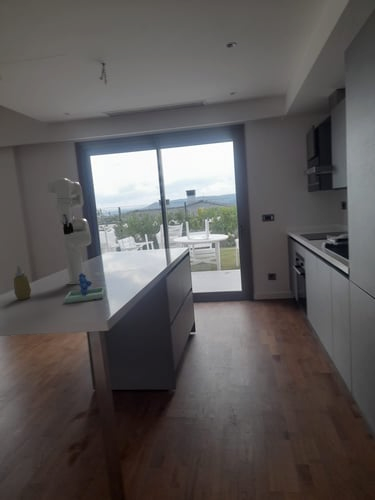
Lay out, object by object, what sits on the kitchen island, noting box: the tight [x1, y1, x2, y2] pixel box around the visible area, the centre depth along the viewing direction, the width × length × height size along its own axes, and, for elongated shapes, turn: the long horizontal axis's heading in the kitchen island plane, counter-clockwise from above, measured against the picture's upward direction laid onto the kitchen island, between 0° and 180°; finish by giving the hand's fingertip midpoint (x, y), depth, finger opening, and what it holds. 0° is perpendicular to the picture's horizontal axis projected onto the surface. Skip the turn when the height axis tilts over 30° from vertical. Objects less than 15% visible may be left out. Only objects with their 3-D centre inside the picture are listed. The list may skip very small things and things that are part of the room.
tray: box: [64, 286, 106, 304], centre depth 170 cm, size 14×18×2 cm
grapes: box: [78, 273, 93, 296], centre depth 171 cm, size 12×7×12 cm, turn 12°
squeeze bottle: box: [13, 265, 32, 301], centre depth 179 cm, size 8×8×18 cm
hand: (69, 233), depth 181 cm, fingers open, 9 cm apart
